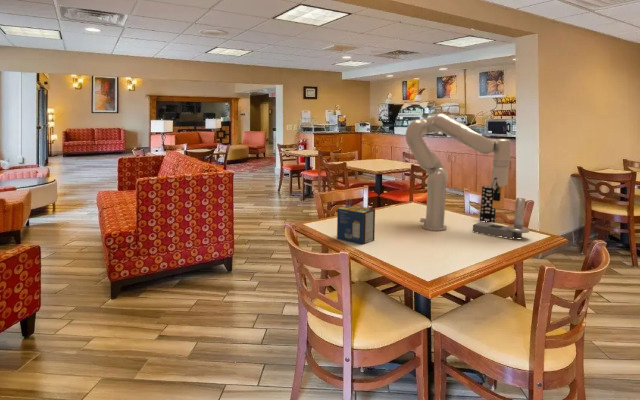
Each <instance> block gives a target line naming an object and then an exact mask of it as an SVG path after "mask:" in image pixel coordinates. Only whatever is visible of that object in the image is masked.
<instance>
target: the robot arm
mask: <svg viewBox="0 0 640 400" xmlns="http://www.w3.org/2000/svg"><path fill="white" fill-rule="evenodd" d="M436 132H441V133H443V134H444V135H447V136H448V137H450V138H452V139H454V140H455V141H457V142H459V143H462V144H464V145H465V146H467V147H469V148H471V149H472V150H474V151H476V152H478V153H480V154H483V155H488V154H491V153H493V159H492V160H493V161H492V162H493V163H492V170H491V178H490V185H489V186H492V188H493V193H494V194H493V200H494V201H500V187H502V185H505V187H506V186H507V185H508V181H509V168H510V163H511V162H510V161H511V149H512V140H511V139H507V138H497V139H495V138H488V137H485V136H483V135H481V134H479V132H477V131H474V130H473V129H471V128H470V127H469V126H467V125H466V124H464V123H462V122H460V121H459V120H457V119H455V118H452V117H451V116H449V115H447V114H446V113H441V112H440V113H436V114H435V115H433V116H430V117H426V118H425V117H424V118H422V119H420V118H419V119H413V120H412V121H411V122H410V123H409V125H408V126H407V127H406V131H405V141H406V143H407V146H408V147H409V150H410V151H411V154H412V155H413V156H414V158H415V160H416V162H417V164H418V166H419V167H420V168H421V169H423V170H424V171H426V174H427V175H428V176H427V181H426V183H427V184H426V185H427V186H426V187H427V189H426V190H427V191H426V193H427V195H426V209H425V210H426V211H425V212H426V214H425V218H422V217H421V218H420V220H419V222H420V223H423V224H422V228H423V229H425V230H427V231H428V230H429V231H434V232H435V231H437V232H438V231H439V232H441V231H446V230H447V228H448V227H447V226H446V225H445V212H446V211H445V210H446V198H447V197H446V192H447V182H448V181H449V173H448V171H447V169H446V168H445V166H444V164H443V163H442V161H441V159H440V158H439V156H438V155H437V154H436V153H435V152H434V151H431V150H430V149H429V146H428V145H427V142H426V141H425V140H424V138H423V136H424V135H428V134H432V133H436ZM496 185H498V187H497V186H496Z"/></svg>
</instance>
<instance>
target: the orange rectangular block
mask: <svg viewBox="0 0 640 400" xmlns="http://www.w3.org/2000/svg"><path fill="white" fill-rule="evenodd" d="M496 186H497V187H498V185H496ZM493 194H494V193H493ZM505 194H506V186H505V185H502V187H500V201H494V200H493V205H492V208H496V210H502V209H504V207H505V206H504V205H505Z"/></svg>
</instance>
